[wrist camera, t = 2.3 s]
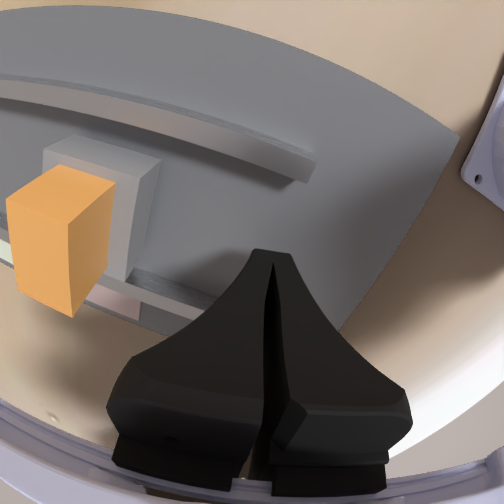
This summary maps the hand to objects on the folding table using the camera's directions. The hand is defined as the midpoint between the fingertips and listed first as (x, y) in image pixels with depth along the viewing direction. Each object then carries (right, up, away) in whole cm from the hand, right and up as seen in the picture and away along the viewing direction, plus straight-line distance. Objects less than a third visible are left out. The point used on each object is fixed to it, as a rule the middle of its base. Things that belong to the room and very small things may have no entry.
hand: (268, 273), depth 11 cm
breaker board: (-5, +4, +2) cm, 7 cm away
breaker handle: (-6, +3, 0) cm, 7 cm away
